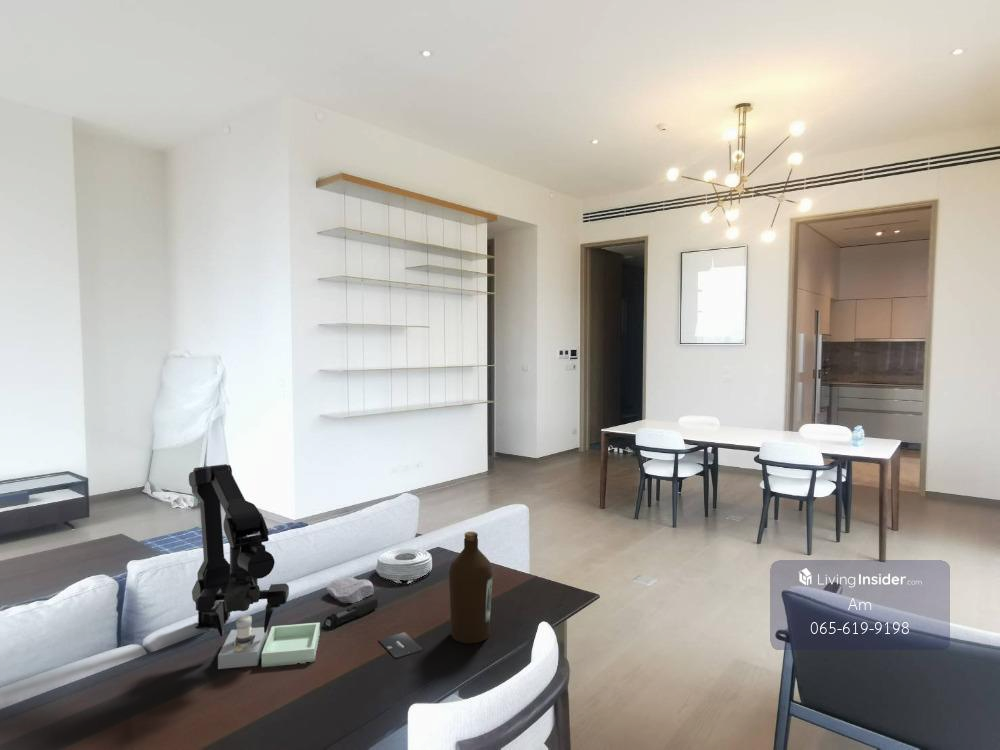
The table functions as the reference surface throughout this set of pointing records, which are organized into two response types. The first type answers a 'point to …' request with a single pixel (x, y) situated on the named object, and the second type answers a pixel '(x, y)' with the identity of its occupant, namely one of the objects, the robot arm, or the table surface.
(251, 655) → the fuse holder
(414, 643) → the solid state drive
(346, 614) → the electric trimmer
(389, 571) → the cable
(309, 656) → the tray
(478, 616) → the olive oil
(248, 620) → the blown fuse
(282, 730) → the table surface
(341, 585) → the stone block
